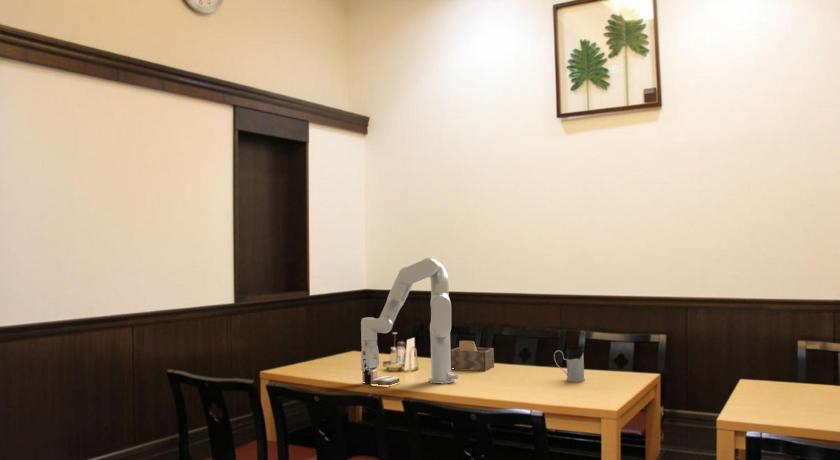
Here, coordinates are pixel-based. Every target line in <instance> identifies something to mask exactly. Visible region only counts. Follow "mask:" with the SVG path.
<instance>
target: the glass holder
mask: <svg viewBox="0 0 840 460" xmlns="http://www.w3.org/2000/svg"><path fill="white" fill-rule="evenodd" d="M557 352H560V353H561V354H562V358H563V360H565V361H566V371H565V370H564V369H563V368H562V367H560V365H558V362H557V361H556V353H557ZM564 355H565V354H564V353H563V351H562V350H556V351H555V352H554V354H553V359H554V362H555V364H556V366H557V367H558V368H559V369H560V370H561V371H562V372H564V374H566V381H568V382H584V381H586V378H585V363H584V359H585V357H584V348H583V347H580V346H568V347H566V358H564Z"/></svg>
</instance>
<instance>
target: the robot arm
mask: <svg viewBox="0 0 840 460" xmlns="http://www.w3.org/2000/svg"><path fill="white" fill-rule="evenodd" d="M427 278H429V279H430V289H431V290H430V318H431V319H430V323H429V333H430V334H429V337H430V364H431V365H430V367H431V369H430V370H431V371H430V372H431V374H430V375H431V377H429V378H428V379H427V380H428V381H430V382H433V383H432V384H435V383H441V384H440V385H442V384H443V385H445V384H451V383H452V384H453V383H454V382H455V380H459V379H460V376H459V374H454V371H452V369H451V350H452V348H451V330H452V302H451V299H450V296H449V295H450V291H449V288H450V287H449V276H448V272H447V271H446V268H445V267H444V265H443V264H442V263H440V262H439V260H438V261H437V260H436V259H434V258H433V257H426V258H424V259H422V260H420V261H417V262H415V263H412V264H411V265H408V266H404V267H402V268H401V269H400V270H399V271H398V274H397V276H396V278H395V280H394V282H393V285H392V287H391V289H390V291H389V293H388V295H387V299H386V302H385V304H384V307H383V308H382V311H381V313H380V315H379V317H378V318H375V317H372V316H371V317H363V318H361V320H360V332H361V334H360V336H361V337H360V338H361V341H360V343H361V351H360V354H361V355H360V363H361V364H360V366H361V368H360V370H361V371H363V372H364V382H365V383H371V374H370V369H377V368H378V366H379V365H380V353H379V347H378V334H380V333H381V334H387V333H389V332H391V331H392V329H393V325H394V324H395V321H396V319H397V316H398V314H399V312H400V310H401V308H402V307H403V306H404V303H405V302H406V299H407V298H408V296H409V293H410V291H411V289H412V287H413V284H414V283H415V284H416V283H417V282H420V281H423V280H426V279H427ZM367 369H368V371H367ZM428 381H427V382H428ZM430 382H429V383H430Z"/></svg>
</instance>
